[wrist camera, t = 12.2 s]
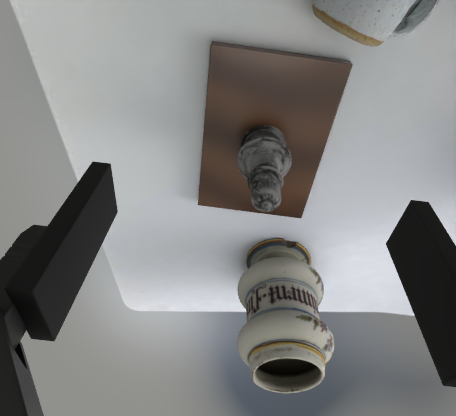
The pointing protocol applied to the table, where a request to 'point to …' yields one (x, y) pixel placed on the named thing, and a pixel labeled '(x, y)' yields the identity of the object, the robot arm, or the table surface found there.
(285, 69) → the walnut board
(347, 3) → the ceramic mug
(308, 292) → the apothecary jar
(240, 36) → the table surface
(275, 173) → the grey tapered rounded piece
